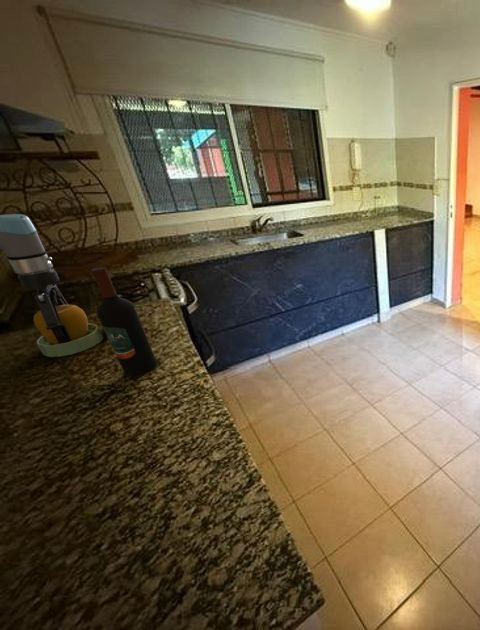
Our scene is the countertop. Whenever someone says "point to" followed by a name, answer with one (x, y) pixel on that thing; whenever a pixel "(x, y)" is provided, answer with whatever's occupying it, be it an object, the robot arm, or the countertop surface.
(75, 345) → the bowl
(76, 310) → the apple
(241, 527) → the countertop surface
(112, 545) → the countertop surface
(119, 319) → the wine bottle
